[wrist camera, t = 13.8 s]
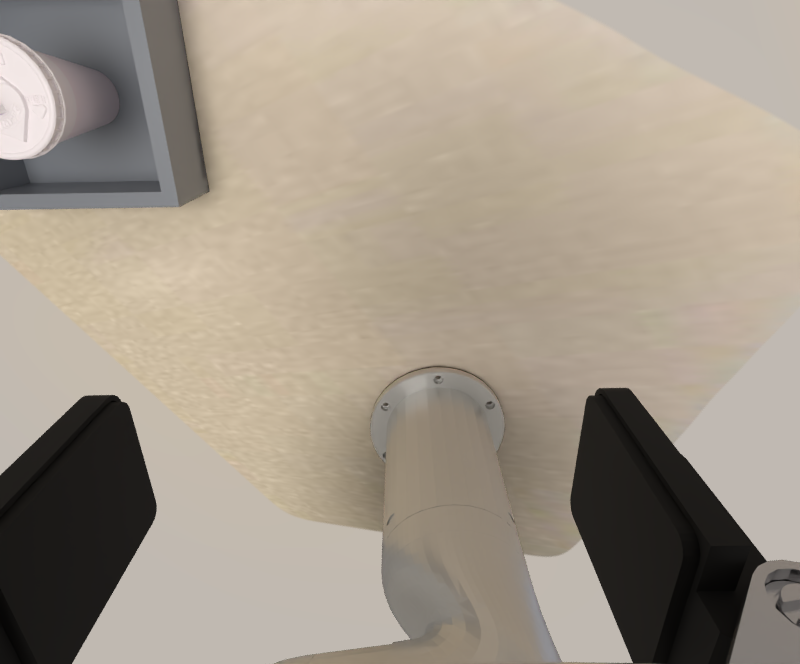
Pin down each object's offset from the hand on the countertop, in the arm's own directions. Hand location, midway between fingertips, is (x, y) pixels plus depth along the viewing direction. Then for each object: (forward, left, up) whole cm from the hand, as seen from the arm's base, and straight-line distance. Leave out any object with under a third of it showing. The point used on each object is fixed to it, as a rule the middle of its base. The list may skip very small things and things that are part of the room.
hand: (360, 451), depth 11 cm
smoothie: (+7, +21, -32) cm, 38 cm away
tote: (+7, +21, -32) cm, 39 cm away
